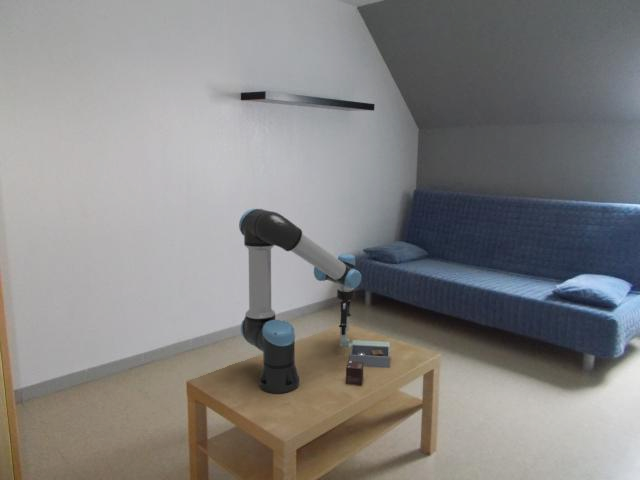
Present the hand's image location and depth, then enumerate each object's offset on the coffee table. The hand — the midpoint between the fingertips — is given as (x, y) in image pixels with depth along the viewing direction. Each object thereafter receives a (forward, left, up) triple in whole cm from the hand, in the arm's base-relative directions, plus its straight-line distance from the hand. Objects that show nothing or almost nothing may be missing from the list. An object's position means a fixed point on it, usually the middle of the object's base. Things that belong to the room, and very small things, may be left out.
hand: (344, 335), depth 220 cm
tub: (+12, -15, -5) cm, 19 cm away
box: (+7, -34, -5) cm, 35 cm away
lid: (+9, 0, -5) cm, 10 cm away
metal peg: (+8, -16, -5) cm, 18 cm away
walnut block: (+15, -15, -5) cm, 21 cm away
